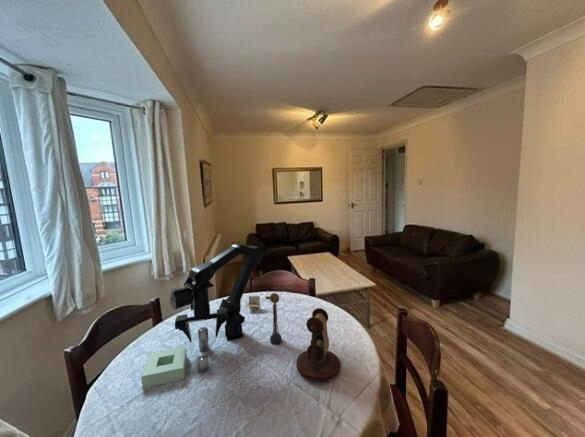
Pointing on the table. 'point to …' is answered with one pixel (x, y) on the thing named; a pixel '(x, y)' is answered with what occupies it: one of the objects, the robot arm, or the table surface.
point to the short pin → (203, 363)
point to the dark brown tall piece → (318, 351)
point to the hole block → (164, 367)
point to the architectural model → (253, 302)
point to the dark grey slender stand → (274, 320)
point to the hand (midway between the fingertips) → (203, 339)
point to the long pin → (203, 339)
